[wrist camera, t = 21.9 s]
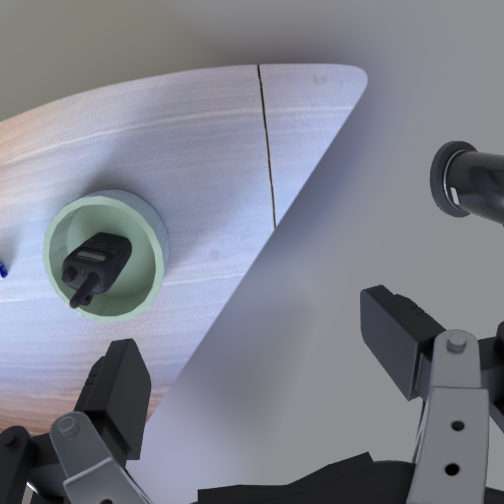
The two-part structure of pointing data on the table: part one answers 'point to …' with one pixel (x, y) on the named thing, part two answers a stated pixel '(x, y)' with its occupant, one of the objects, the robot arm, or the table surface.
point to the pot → (119, 223)
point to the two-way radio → (95, 266)
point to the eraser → (2, 271)
